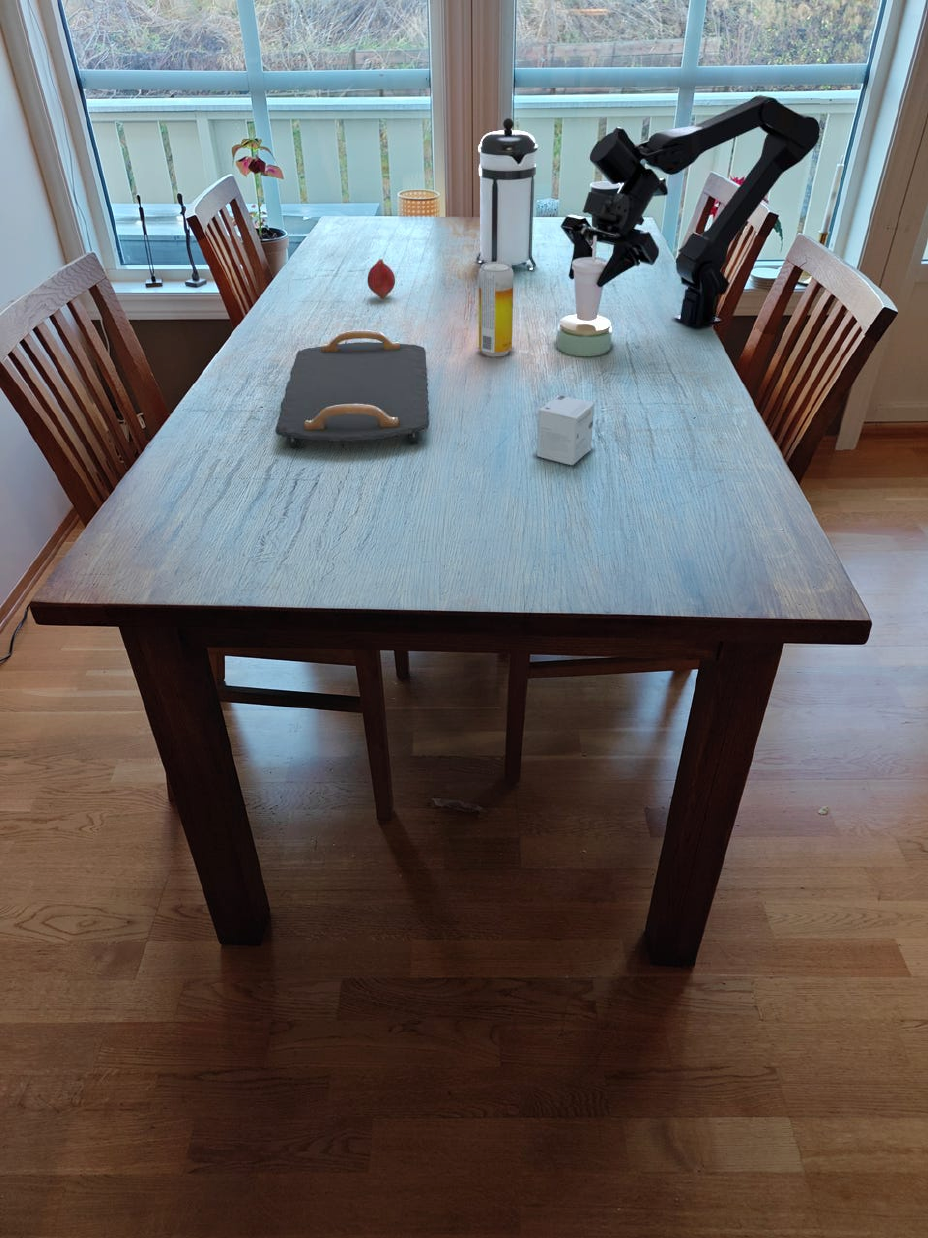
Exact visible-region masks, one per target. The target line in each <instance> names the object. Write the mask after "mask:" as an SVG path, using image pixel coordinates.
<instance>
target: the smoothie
mask: <svg viewBox="0 0 928 1238" xmlns="http://www.w3.org/2000/svg"><path fill="white" fill-rule="evenodd" d="M597 242H598V241H597V236H594V237H593V245H592V249H593V252H592V257H583V258H578V259H575V260H574V261H573V262H572V261H571V262H572V269H573V270H574V279H573V282H574V283H573V284H574V294H575V295H574V299H575V312H576V314H575V315H576V316H577V319H578V320H581V321H593V320H596V319H597V316H599V309H600V305H601V299H602V294H603V288H604V286H602V287H598V286H597V281H598V279H599V277H600V275H601V273H602V271H603V270H604V268H605V266H606V264H607V263H608V261H609V260H607V259H606V258H601V257H596V256H597V255H596V253H597Z"/></svg>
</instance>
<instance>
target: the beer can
mask: <svg viewBox="0 0 928 1238" xmlns="http://www.w3.org/2000/svg"><path fill="white" fill-rule="evenodd" d="M514 273H515V272H514V270H513V268H512V265H510V264H508V263H504V262H489V263H487V262H485V263H482V264H481V266H480V269H479V271H478V349H479V350H480V351H481V353H482V354H483V355H485V356H488V357H502V356H505V355H508V354H509V353H510V351H511V350H512V349H513V323H514V322H513V321H514V319H513V318H514V317H513V315H514V276H515V274H514Z"/></svg>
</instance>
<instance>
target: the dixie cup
mask: <svg viewBox="0 0 928 1238" xmlns="http://www.w3.org/2000/svg"><path fill="white" fill-rule="evenodd" d="M589 186H590V192H593V193H598V194H603V195H607V196H610V195H613V196H614V195H615V194H616V193H618V191H619V189H620V188H621V186H622V183H618V184H611V183H610V182H609V181H608V180H600V181H593V182H591V183H590V184H589ZM593 218H594V216H593V215H591V227H592V228H596V229H597V227H598V225H597V224H595V223H594V221H593V220H592V219H593Z"/></svg>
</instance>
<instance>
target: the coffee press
mask: <svg viewBox="0 0 928 1238" xmlns="http://www.w3.org/2000/svg"><path fill="white" fill-rule="evenodd" d="M514 124H515V123H514V121H513V119H512V118H510V117H507V118H505V119H504V120H503V123H502V127H503V128H504V130H497V131H492V132H489V133H486V134H485V135H484V136H483V137H482V139H481V141H480V144H479V145H478V146H477V147H478V148H477V149H478V153H479V165H478V166H479V167H478V175H479V189H480V190H479V217H480V218H479V238H480V239H479V248H480V249H479V250H480V251H479V254H478V255H477V257H476V258H475V259H476V262H477V263H478V264H481V263H483V262H485V263H489V262H504V263H508V264H510V265H511V266H516V265H524V266H525V267H526V268H527V269H528V270H529V271H532V270H534V269H536V268H537V263H536V261H535V260H534V257H533V236H534V235H533V234H534V233H533V231H534V230H533V229H534V205H535V204H534V203H535V176H536V174H537V164H536V153H537V151H538V148H539V147H538V144H537V143H536V140H535V137H534V136H533V135H531V134H530V133H528V132H525V131H521V130H512V129H513V128H514ZM480 258H481V259H482V260H481V259H480ZM528 261H529V262H530V263H531V265H532V266H531V265H530V263H528Z"/></svg>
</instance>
